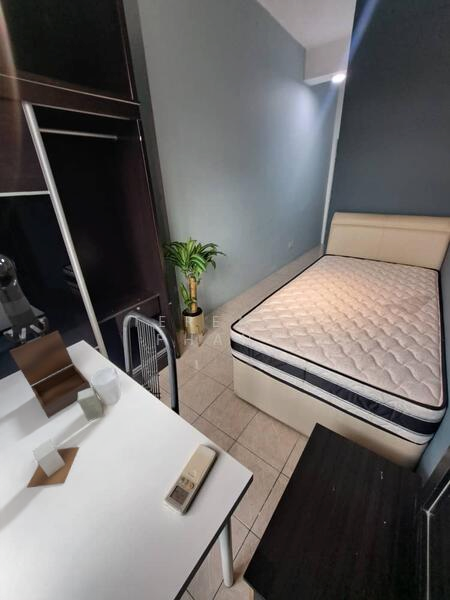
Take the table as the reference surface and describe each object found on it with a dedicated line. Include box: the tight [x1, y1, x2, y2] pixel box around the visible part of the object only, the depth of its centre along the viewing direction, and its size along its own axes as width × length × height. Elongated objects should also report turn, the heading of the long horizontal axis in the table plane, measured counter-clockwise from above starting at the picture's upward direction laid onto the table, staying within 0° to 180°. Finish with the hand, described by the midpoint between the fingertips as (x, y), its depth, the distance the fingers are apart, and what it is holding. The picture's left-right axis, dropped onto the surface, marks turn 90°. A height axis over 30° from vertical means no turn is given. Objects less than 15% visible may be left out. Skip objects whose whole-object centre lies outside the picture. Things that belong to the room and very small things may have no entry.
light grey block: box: [32, 438, 65, 477], centre depth 72 cm, size 4×4×8 cm
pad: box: [26, 446, 80, 488], centre depth 74 cm, size 10×10×1 cm
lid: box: [9, 330, 74, 387], centre depth 97 cm, size 16×16×5 cm
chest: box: [30, 363, 92, 419], centre depth 96 cm, size 16×16×6 cm
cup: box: [90, 367, 123, 406], centre depth 92 cm, size 9×9×12 cm
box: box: [76, 386, 105, 421], centre depth 86 cm, size 5×4×11 cm
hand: (37, 346), depth 97 cm, fingers closed on lid, 5 cm apart
